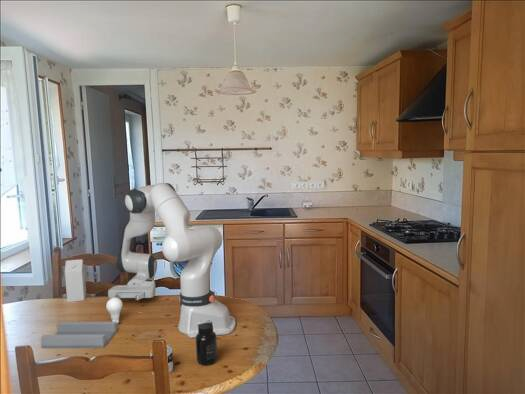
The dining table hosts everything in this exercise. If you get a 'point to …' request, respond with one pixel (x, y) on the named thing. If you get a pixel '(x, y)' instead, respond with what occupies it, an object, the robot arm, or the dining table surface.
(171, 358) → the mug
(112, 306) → the lightbulb
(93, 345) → the trough
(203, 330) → the supplement bottle
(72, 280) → the milk carton
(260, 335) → the dining table surface
